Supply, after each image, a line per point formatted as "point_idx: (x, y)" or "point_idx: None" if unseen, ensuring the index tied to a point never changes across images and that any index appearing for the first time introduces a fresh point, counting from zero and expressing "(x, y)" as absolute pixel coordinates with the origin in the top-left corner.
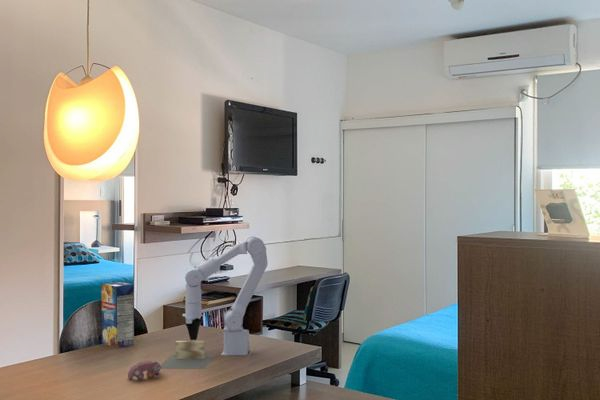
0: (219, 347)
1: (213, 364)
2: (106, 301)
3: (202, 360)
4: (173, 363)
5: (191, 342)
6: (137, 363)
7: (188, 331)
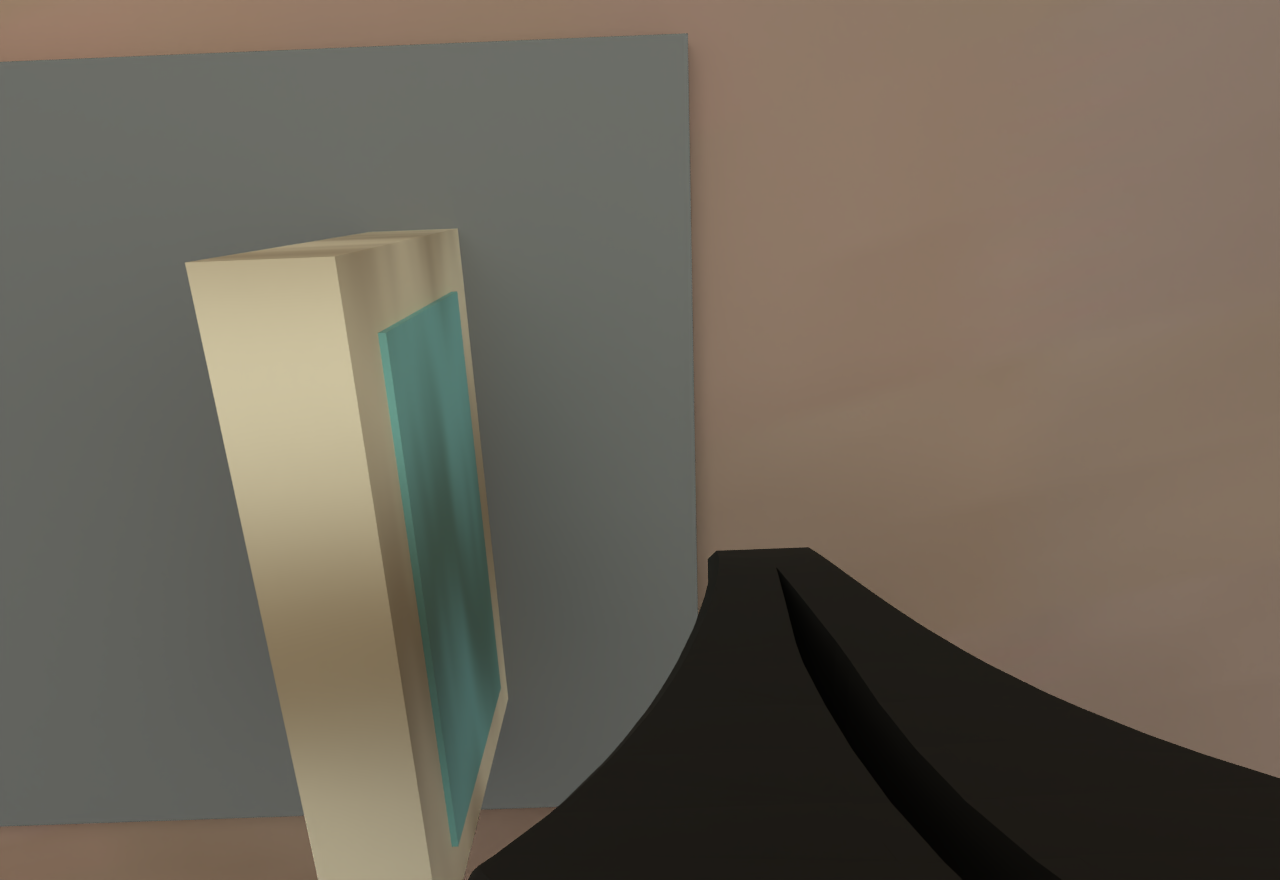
0: (1271, 722)
1: (274, 847)
2: None
3: None
4: (50, 295)
5: (288, 705)
6: None
7: (677, 662)
